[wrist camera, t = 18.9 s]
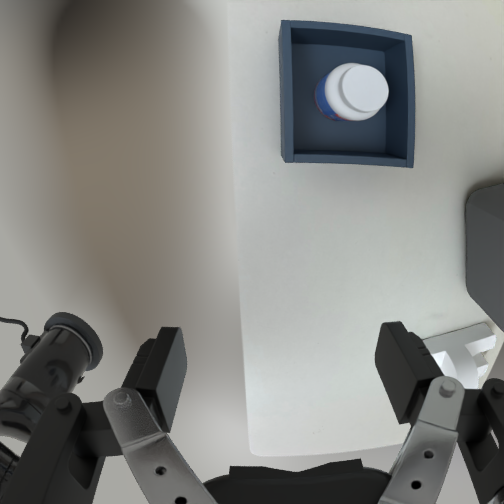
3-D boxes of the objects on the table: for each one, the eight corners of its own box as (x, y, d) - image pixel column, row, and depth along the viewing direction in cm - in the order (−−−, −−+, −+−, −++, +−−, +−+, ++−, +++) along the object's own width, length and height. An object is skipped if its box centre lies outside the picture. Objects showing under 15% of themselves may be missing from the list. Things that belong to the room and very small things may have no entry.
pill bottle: (320, 126, 32) (341, 126, 23) (306, 79, 30) (322, 62, 21) (367, 116, 31) (402, 114, 22) (354, 70, 29) (385, 53, 20)
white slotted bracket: (394, 346, 43) (418, 396, 33) (487, 321, 42) (519, 359, 32) (389, 388, 47) (407, 436, 37) (475, 363, 45) (501, 402, 35)
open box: (281, 155, 34) (284, 162, 28) (278, 38, 29) (281, 20, 23) (388, 159, 34) (413, 168, 27) (387, 48, 28) (411, 34, 22)
